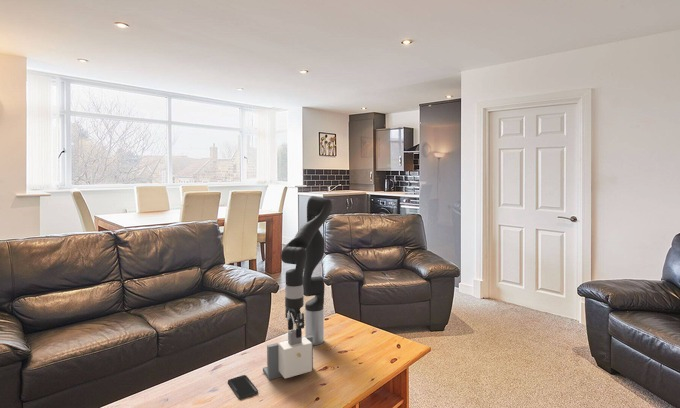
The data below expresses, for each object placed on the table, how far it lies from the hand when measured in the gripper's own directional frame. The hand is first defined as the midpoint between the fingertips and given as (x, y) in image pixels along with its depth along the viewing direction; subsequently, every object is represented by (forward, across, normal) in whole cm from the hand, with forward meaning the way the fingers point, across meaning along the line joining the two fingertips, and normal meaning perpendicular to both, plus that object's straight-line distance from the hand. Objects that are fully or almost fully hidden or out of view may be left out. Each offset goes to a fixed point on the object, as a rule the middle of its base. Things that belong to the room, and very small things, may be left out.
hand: (294, 333), depth 154 cm
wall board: (+19, +5, 0) cm, 20 cm away
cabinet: (+16, 0, 0) cm, 16 cm away
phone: (+20, +4, +21) cm, 29 cm away
